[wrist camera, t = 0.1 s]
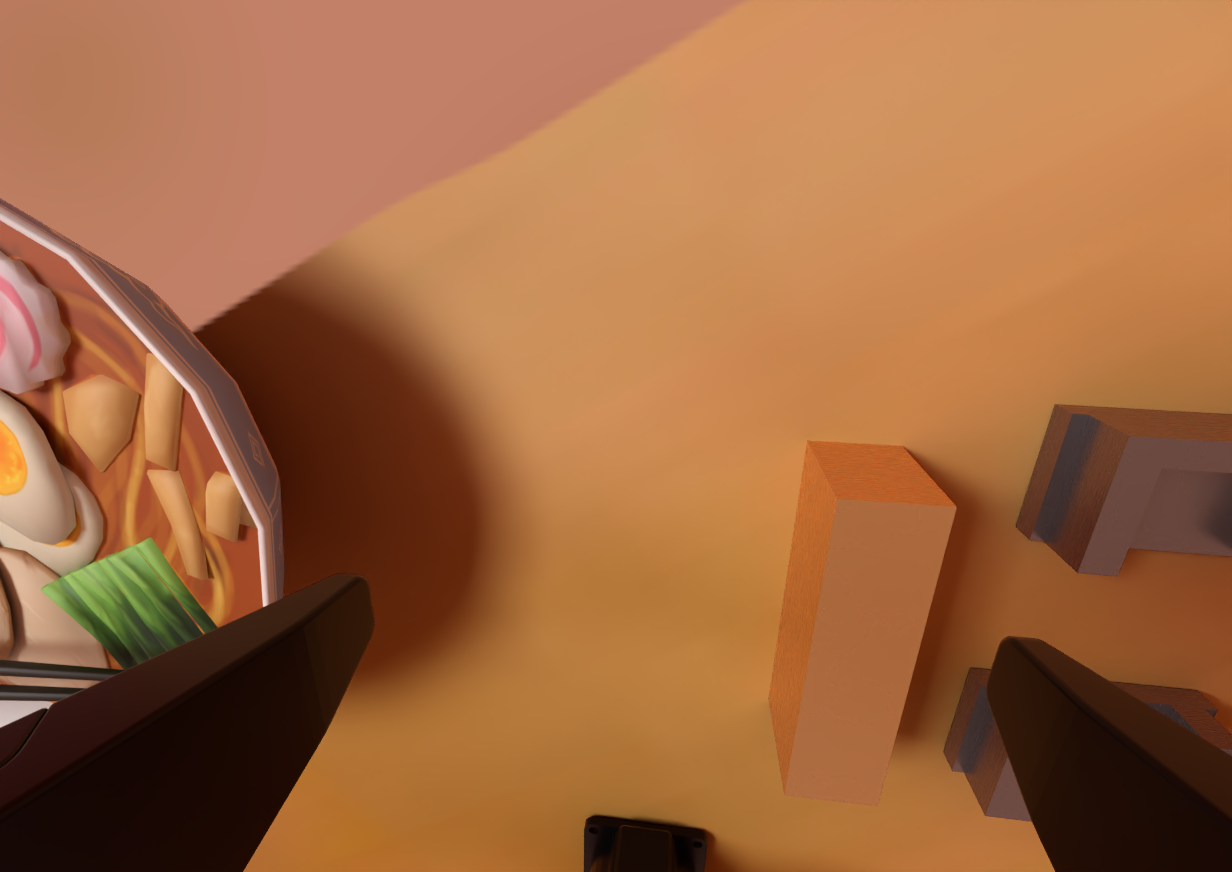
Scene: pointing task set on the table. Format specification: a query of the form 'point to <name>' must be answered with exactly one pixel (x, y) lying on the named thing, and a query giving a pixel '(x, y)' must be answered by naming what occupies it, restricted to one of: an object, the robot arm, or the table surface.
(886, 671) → the brown rectangular block
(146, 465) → the ramen bowl
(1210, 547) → the grey frame
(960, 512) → the table surface
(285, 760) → the robot arm
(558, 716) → the table surface
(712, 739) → the table surface
